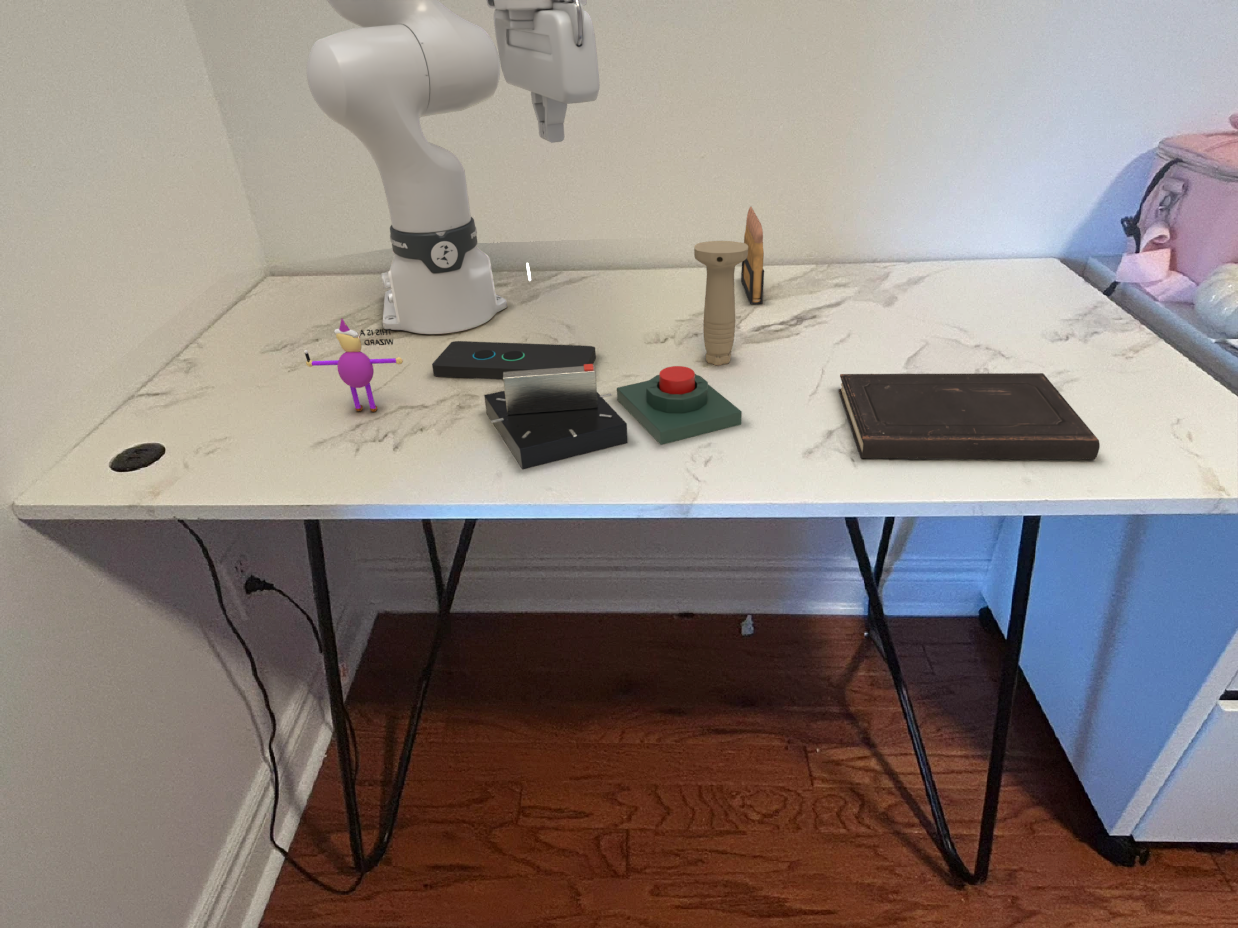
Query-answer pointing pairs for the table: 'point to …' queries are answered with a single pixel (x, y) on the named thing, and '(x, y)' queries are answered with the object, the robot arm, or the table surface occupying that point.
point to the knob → (550, 389)
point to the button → (677, 380)
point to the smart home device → (507, 358)
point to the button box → (678, 410)
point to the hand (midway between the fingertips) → (552, 140)
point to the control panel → (556, 431)
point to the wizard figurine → (355, 362)
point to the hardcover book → (963, 417)
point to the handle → (719, 296)
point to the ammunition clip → (753, 260)
